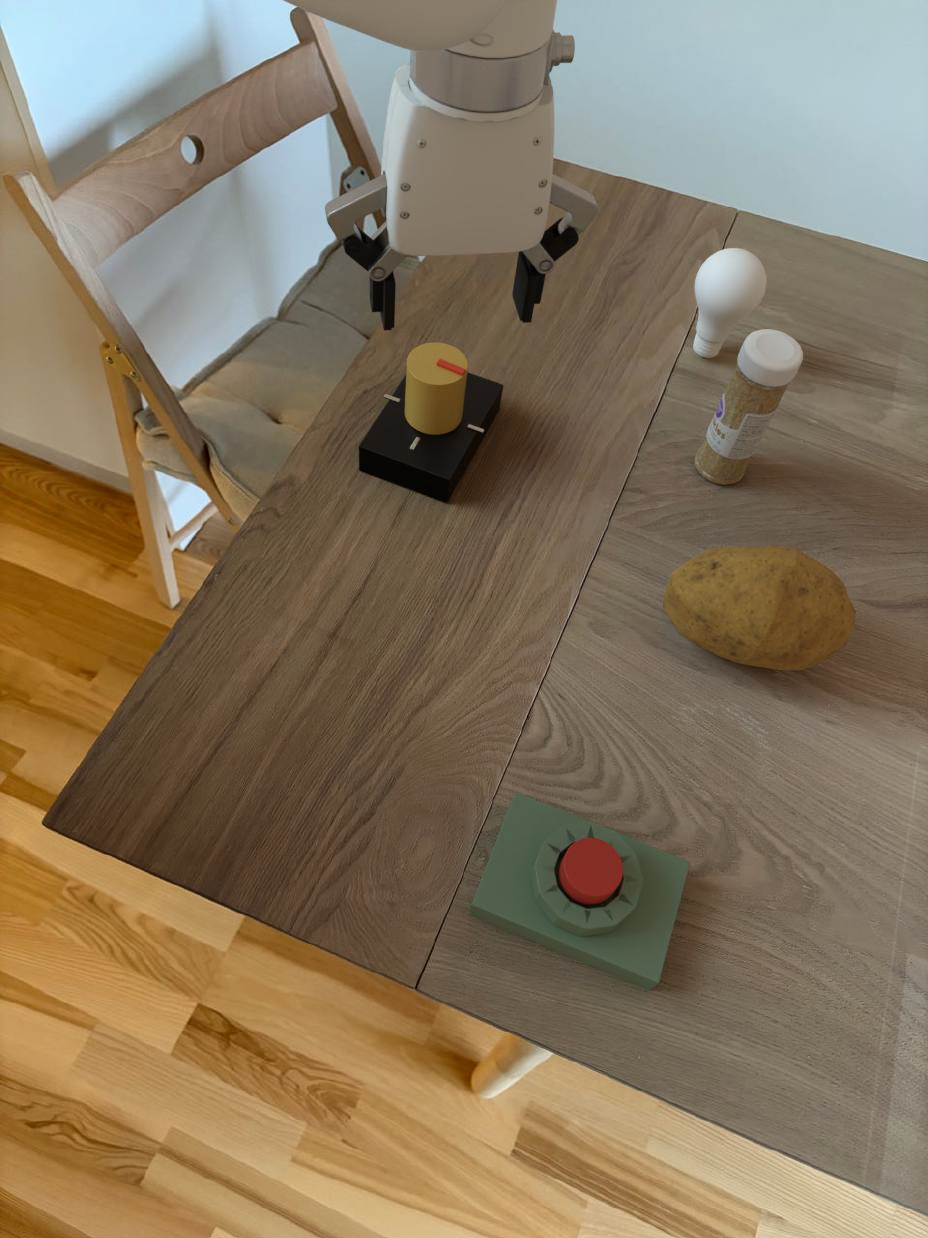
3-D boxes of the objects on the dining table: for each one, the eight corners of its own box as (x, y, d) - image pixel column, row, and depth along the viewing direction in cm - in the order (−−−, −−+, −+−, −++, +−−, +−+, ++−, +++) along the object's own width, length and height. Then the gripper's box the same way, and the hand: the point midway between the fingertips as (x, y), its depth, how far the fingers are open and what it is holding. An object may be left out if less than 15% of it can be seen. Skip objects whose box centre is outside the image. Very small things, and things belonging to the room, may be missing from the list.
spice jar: (686, 449, 83) (737, 327, 71) (735, 446, 83) (792, 324, 72) (702, 489, 80) (756, 369, 69) (752, 485, 81) (814, 366, 70)
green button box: (468, 914, 59) (473, 896, 56) (510, 804, 63) (518, 780, 60) (649, 991, 58) (666, 976, 54) (681, 872, 62) (699, 852, 59)
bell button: (550, 891, 57) (555, 882, 55) (569, 838, 59) (574, 828, 57) (607, 914, 56) (613, 906, 55) (623, 860, 58) (630, 851, 57)
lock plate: (452, 506, 77) (455, 480, 74) (353, 468, 78) (352, 442, 76) (504, 411, 83) (509, 384, 81) (412, 378, 85) (413, 351, 82)
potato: (705, 486, 68) (683, 577, 62) (883, 549, 67) (878, 647, 61) (662, 569, 76) (639, 657, 70) (821, 627, 75) (811, 720, 69)
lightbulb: (665, 365, 88) (699, 265, 79) (679, 325, 92) (714, 225, 82) (728, 384, 88) (770, 286, 78) (740, 344, 91) (782, 244, 82)
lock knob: (394, 420, 77) (395, 366, 73) (421, 385, 80) (425, 331, 75) (445, 443, 77) (451, 390, 72) (472, 406, 79) (478, 353, 74)
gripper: (611, 24, 55) (560, 273, 69) (312, 23, 52) (324, 284, 66) (647, 94, 51) (586, 343, 65) (326, 98, 48) (336, 357, 62)
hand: (454, 313), depth 66 cm, fingers open, 9 cm apart
